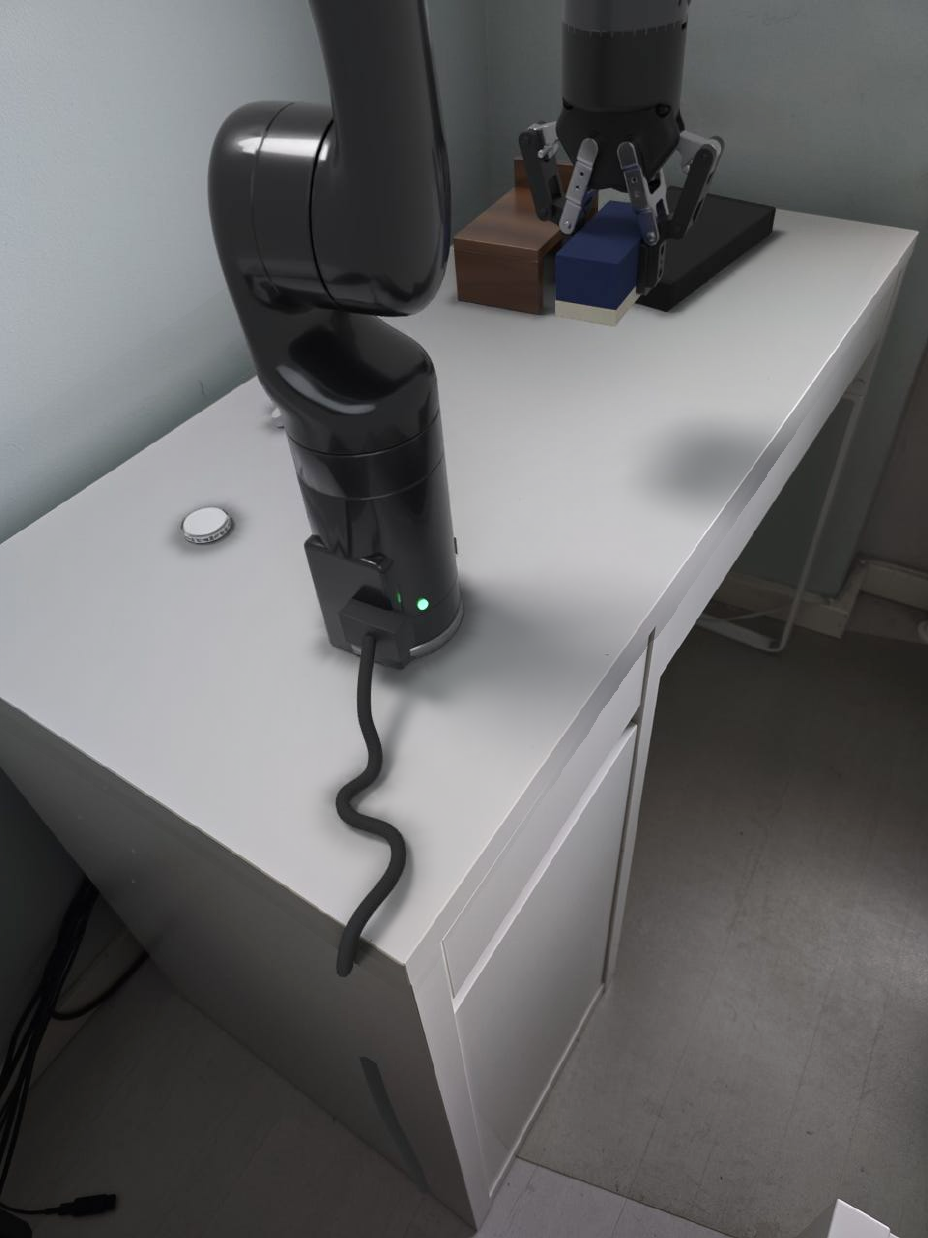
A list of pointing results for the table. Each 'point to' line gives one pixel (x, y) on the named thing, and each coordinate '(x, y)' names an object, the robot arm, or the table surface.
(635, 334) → the table surface
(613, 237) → the whiteboard eraser
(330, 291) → the robot arm
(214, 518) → the white bottle cap
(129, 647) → the table surface
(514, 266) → the shelf
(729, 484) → the table surface
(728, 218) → the external hard drive
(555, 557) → the table surface
